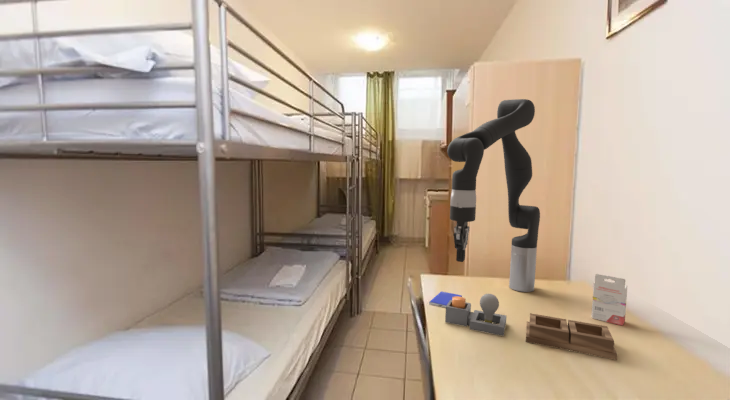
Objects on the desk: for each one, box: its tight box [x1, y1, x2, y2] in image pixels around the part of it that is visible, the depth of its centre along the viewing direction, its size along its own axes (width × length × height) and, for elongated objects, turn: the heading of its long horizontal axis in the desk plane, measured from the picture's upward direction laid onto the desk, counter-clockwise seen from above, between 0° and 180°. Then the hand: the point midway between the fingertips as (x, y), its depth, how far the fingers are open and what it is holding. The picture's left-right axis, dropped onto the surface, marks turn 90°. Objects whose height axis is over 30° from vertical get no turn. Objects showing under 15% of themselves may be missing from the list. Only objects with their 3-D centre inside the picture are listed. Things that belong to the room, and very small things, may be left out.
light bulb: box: [479, 293, 500, 323], centre depth 109 cm, size 6×5×10 cm
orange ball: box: [452, 296, 467, 309], centre depth 113 cm, size 4×4×4 cm
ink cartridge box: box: [591, 273, 628, 327], centre depth 115 cm, size 9×5×15 cm, turn 47°
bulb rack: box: [525, 313, 618, 361], centre depth 100 cm, size 11×21×4 cm, turn 65°
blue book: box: [428, 291, 463, 309], centre depth 130 cm, size 2×8×12 cm
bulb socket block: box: [444, 300, 507, 337], centre depth 111 cm, size 10×17×5 cm, turn 65°
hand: (460, 260), depth 111 cm, fingers closed
